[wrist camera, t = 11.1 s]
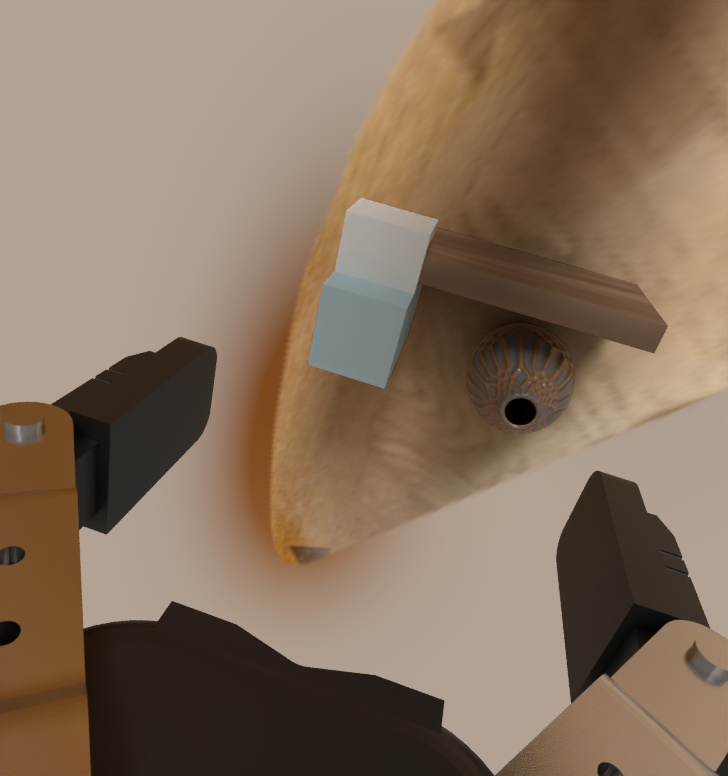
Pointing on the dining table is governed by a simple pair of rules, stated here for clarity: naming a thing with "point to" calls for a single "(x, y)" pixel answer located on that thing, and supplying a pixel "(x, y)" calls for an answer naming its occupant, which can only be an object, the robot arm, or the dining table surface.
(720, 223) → the dining table surface
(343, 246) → the cabinet
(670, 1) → the dining table surface
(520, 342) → the vase
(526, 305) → the wall board
